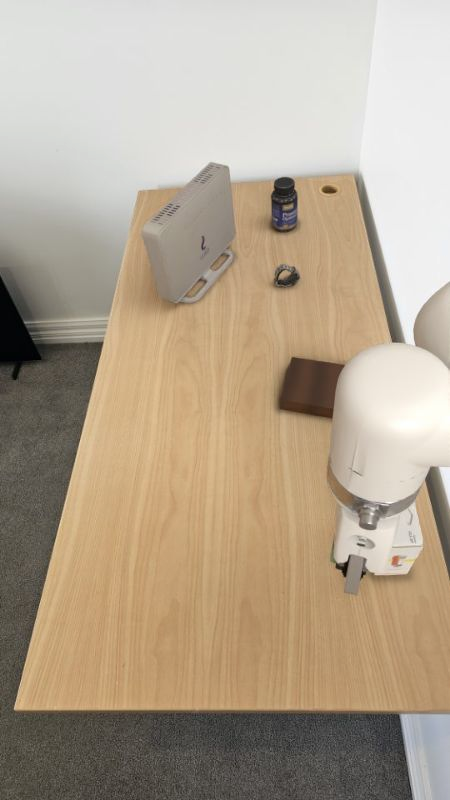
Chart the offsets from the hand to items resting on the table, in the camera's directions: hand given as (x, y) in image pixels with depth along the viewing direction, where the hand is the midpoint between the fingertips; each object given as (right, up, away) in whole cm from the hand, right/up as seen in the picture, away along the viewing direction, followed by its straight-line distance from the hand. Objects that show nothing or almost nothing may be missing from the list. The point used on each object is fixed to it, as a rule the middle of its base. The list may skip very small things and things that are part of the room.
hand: (353, 545), depth 55 cm
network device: (-20, +45, +58) cm, 76 cm away
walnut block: (+3, +18, +36) cm, 40 cm away
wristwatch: (-1, +42, +54) cm, 68 cm away
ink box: (+9, -5, +18) cm, 21 cm away
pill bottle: (0, +59, +66) cm, 88 cm away
